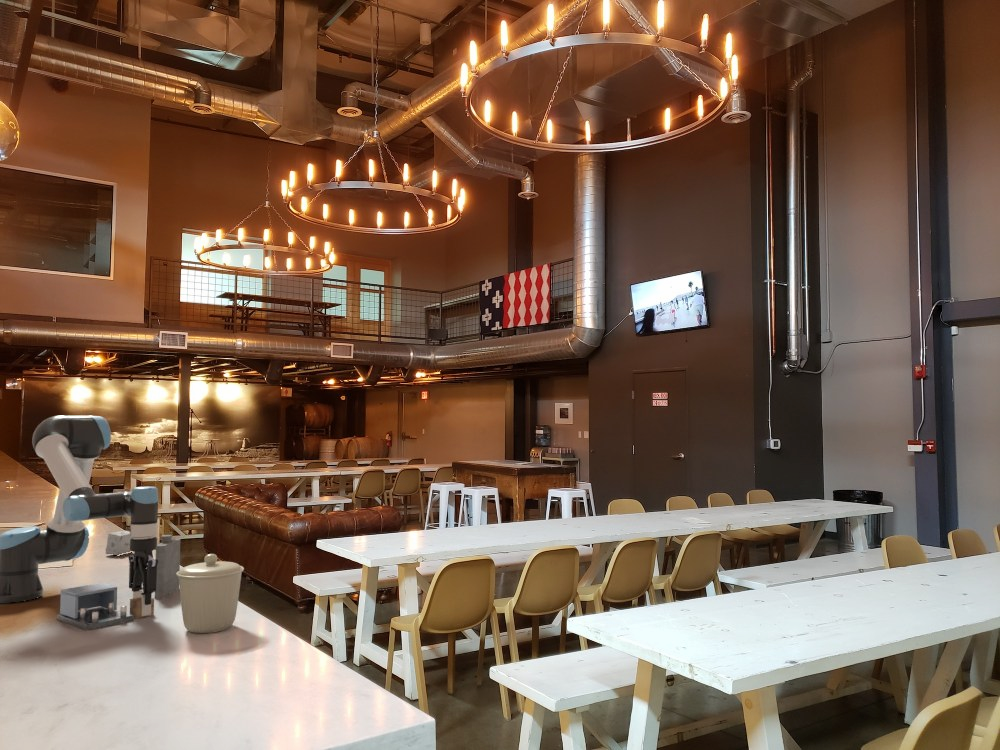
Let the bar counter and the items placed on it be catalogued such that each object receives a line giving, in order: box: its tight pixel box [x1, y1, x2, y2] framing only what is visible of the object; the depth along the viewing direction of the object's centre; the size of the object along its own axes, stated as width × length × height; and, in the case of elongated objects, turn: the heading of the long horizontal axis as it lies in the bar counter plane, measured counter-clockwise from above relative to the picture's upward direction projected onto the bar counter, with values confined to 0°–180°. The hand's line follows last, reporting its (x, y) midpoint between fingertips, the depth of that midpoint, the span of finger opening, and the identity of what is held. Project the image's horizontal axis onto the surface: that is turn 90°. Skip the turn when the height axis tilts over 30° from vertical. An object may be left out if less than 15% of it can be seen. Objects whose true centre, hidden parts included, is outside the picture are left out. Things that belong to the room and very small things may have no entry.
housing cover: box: [59, 582, 118, 618], centre depth 221 cm, size 10×12×7 cm
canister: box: [176, 553, 245, 634], centre depth 208 cm, size 18×18×21 cm
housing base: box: [56, 602, 134, 631], centre depth 218 cm, size 20×13×4 cm, turn 53°
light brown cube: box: [129, 597, 155, 619], centre depth 223 cm, size 5×5×5 cm
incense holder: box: [105, 530, 132, 556], centre depth 331 cm, size 10×8×10 cm
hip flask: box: [154, 534, 181, 599], centre depth 254 cm, size 16×4×20 cm, turn 3°
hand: (141, 613), depth 223 cm, fingers closed on light brown cube, 5 cm apart
